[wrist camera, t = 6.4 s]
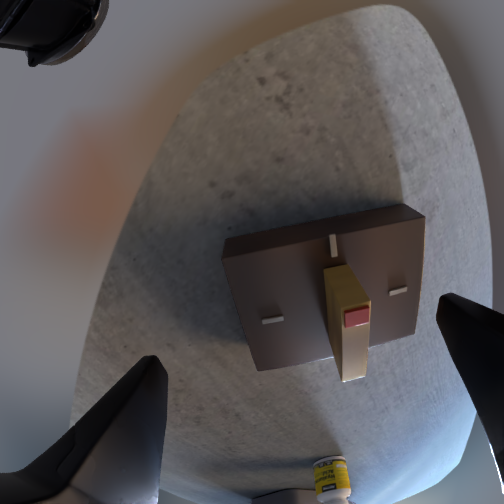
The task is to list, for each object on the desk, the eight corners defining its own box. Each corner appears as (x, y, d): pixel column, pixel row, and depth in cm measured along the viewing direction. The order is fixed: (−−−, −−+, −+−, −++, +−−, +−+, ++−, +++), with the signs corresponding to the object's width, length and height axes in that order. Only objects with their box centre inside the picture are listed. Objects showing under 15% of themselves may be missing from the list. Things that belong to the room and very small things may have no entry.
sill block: (256, 346, 23) (257, 374, 20) (224, 237, 19) (219, 258, 16) (400, 313, 22) (415, 336, 19) (404, 201, 18) (427, 215, 15)
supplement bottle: (331, 453, 34) (340, 505, 25) (350, 456, 35) (360, 504, 26) (305, 464, 36) (311, 514, 27) (326, 468, 37) (333, 513, 28)
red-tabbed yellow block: (350, 335, 19) (366, 379, 15) (328, 340, 19) (342, 385, 15) (348, 263, 16) (372, 303, 13) (322, 268, 17) (341, 310, 13)
